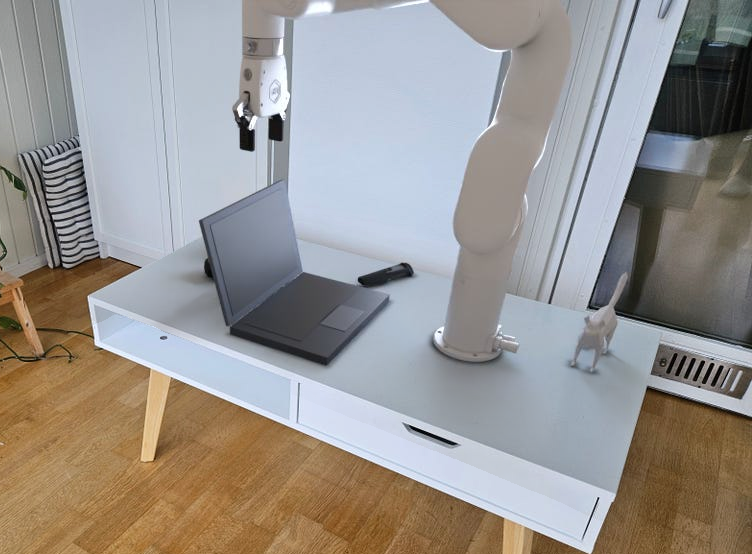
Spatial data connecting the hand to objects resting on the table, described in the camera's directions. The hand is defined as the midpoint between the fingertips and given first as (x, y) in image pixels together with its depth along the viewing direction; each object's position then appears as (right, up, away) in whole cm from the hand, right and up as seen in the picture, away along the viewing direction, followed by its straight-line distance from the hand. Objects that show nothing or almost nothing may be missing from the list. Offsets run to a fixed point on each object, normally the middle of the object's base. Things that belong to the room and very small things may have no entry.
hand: (261, 145), depth 124 cm
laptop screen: (-1, -19, +6) cm, 20 cm away
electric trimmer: (+28, -24, +22) cm, 43 cm away
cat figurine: (+62, -41, -4) cm, 74 cm away
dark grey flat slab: (+10, -33, +6) cm, 35 cm away
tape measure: (-10, -23, +22) cm, 33 cm away
